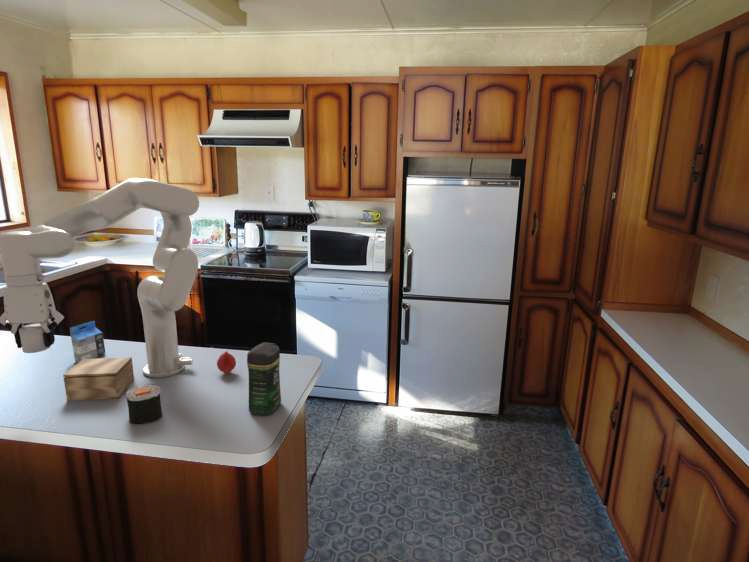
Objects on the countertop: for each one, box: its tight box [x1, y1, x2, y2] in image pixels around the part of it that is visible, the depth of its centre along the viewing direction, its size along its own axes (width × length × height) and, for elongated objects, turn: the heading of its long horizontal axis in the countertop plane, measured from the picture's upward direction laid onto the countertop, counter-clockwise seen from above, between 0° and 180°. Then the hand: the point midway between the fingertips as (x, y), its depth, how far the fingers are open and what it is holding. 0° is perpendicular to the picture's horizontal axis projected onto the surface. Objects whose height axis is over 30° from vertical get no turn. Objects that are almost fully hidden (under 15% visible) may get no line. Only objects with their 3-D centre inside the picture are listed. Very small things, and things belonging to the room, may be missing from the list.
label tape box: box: [69, 320, 107, 363], centre depth 160 cm, size 9×4×12 cm, turn 155°
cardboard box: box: [63, 359, 135, 402], centre depth 139 cm, size 14×12×7 cm
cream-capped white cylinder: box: [19, 323, 51, 354], centre depth 123 cm, size 6×6×6 cm
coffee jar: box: [246, 341, 282, 416], centre depth 129 cm, size 10×8×19 cm
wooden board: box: [62, 357, 133, 378], centre depth 138 cm, size 14×12×1 cm
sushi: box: [125, 384, 163, 426], centre depth 125 cm, size 8×8×8 cm
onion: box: [216, 350, 237, 375], centre depth 151 cm, size 6×6×8 cm
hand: (36, 345), depth 123 cm, fingers closed on cream-capped white cylinder, 6 cm apart
